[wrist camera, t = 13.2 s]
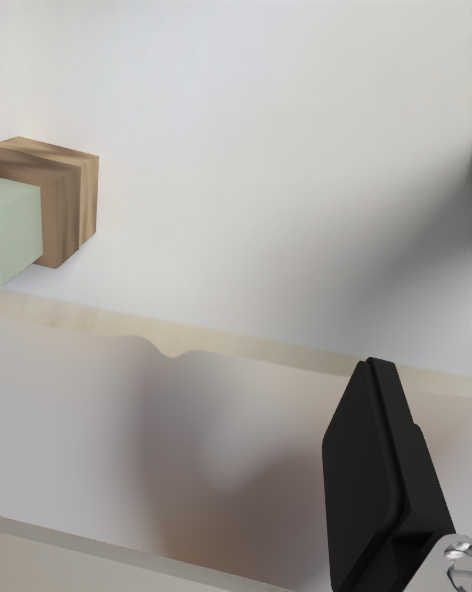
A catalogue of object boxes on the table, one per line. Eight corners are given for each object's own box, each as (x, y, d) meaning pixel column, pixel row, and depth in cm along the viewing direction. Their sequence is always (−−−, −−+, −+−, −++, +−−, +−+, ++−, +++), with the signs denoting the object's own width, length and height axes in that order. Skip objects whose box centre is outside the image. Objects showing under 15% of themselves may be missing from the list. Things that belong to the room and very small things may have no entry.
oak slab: (99, 155, 41) (79, 166, 37) (96, 231, 45) (77, 248, 41) (19, 136, 41) (-10, 144, 37) (23, 213, 45) (-3, 228, 41)
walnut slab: (81, 167, 37) (56, 180, 34) (78, 248, 41) (56, 269, 38) (-8, 145, 37) (-43, 155, 34) (-2, 229, 41) (-32, 247, 38)
